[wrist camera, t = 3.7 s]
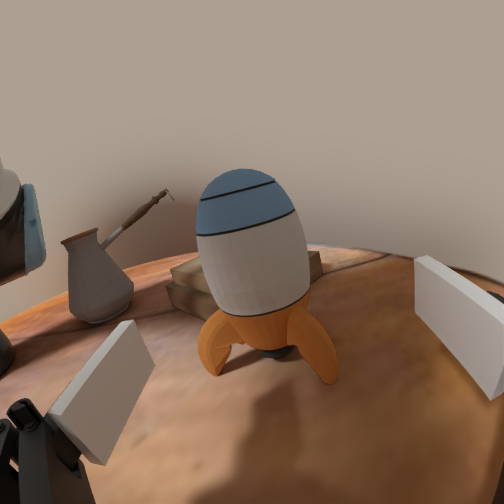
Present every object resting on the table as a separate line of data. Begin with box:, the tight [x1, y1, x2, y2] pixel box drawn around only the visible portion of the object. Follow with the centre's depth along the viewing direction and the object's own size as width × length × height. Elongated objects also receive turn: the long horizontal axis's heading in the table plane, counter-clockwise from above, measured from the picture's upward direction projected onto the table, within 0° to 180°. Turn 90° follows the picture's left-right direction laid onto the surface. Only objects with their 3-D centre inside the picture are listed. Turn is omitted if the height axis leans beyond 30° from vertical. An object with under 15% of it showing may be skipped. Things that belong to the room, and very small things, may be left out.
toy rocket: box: [196, 169, 339, 384], centre depth 19 cm, size 10×11×15 cm
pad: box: [165, 251, 323, 321], centre depth 35 cm, size 14×14×5 cm
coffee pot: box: [61, 189, 174, 324], centre depth 38 cm, size 21×12×15 cm, turn 105°
